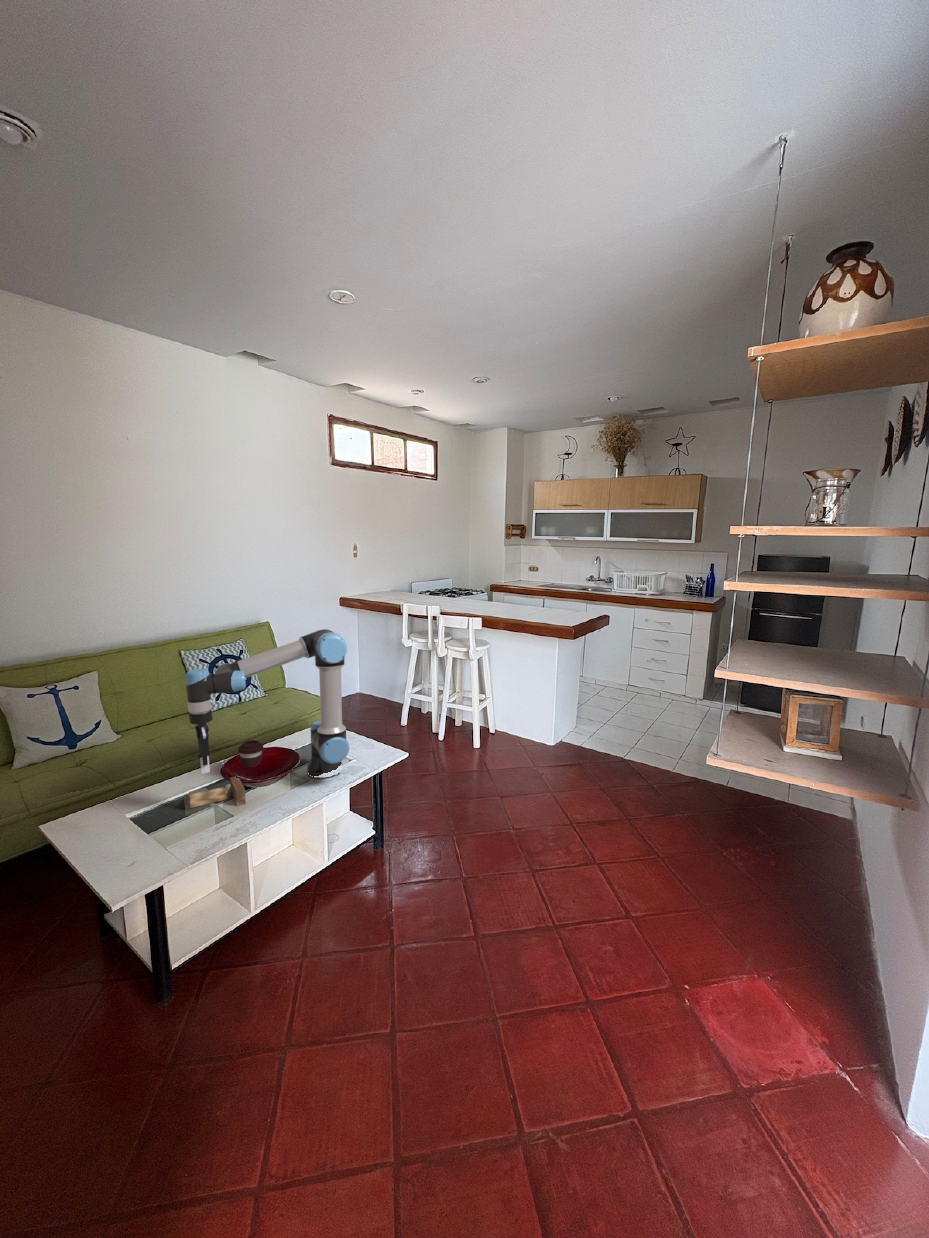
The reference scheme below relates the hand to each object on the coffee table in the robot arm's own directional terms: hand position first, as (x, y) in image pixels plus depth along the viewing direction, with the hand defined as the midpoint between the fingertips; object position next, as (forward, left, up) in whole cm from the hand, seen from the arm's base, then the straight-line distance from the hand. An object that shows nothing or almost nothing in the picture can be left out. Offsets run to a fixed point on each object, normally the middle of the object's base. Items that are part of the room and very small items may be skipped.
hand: (205, 772), depth 183 cm
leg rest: (+2, -9, -15) cm, 17 cm away
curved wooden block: (-11, -3, -15) cm, 19 cm away
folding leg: (-1, -5, -14) cm, 15 cm away
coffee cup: (-20, -21, -15) cm, 33 cm away
